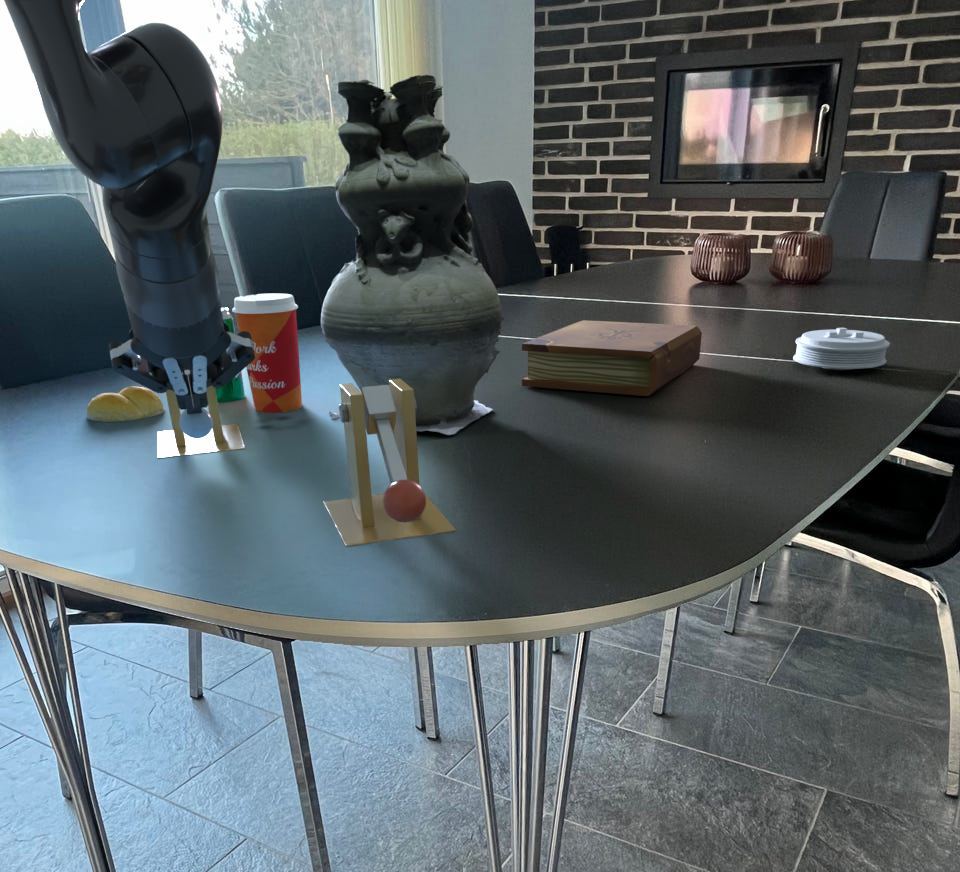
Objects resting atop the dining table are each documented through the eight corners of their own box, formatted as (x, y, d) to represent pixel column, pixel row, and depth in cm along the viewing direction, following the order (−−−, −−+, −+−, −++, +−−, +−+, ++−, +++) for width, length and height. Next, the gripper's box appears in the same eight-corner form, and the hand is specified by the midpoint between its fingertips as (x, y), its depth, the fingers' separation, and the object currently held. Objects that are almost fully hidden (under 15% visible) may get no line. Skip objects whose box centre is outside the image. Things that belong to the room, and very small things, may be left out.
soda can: (233, 400, 116) (218, 305, 111) (253, 406, 113) (239, 309, 108) (199, 407, 113) (182, 310, 108) (219, 413, 110) (202, 313, 104)
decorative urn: (298, 431, 101) (253, 77, 85) (381, 391, 119) (358, 90, 102) (464, 446, 94) (451, 63, 78) (526, 401, 112) (527, 80, 95)
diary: (654, 398, 111) (657, 352, 109) (521, 387, 119) (521, 343, 116) (698, 365, 129) (702, 324, 127) (581, 357, 137) (582, 318, 134)
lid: (845, 355, 133) (850, 321, 130) (904, 370, 122) (912, 334, 120) (774, 362, 130) (779, 327, 127) (829, 379, 119) (836, 341, 117)
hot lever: (428, 527, 66) (432, 502, 63) (387, 533, 65) (390, 508, 62) (392, 408, 71) (395, 380, 68) (353, 412, 70) (355, 383, 67)
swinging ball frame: (457, 543, 70) (451, 396, 64) (346, 560, 67) (330, 408, 62) (422, 501, 79) (414, 368, 73) (324, 514, 77) (308, 378, 71)
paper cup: (236, 417, 108) (217, 298, 101) (286, 405, 113) (271, 291, 106) (273, 427, 103) (255, 303, 97) (324, 414, 108) (310, 295, 102)
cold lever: (216, 443, 88) (213, 422, 85) (183, 447, 87) (179, 425, 85) (200, 357, 93) (196, 334, 90) (169, 359, 92) (164, 336, 90)
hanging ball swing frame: (247, 459, 92) (229, 344, 86) (159, 469, 90) (134, 351, 84) (239, 433, 101) (222, 328, 96) (159, 442, 99) (137, 334, 93)
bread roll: (79, 423, 107) (71, 390, 106) (148, 410, 113) (142, 378, 111) (106, 435, 102) (98, 401, 100) (177, 420, 107) (171, 388, 105)
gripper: (88, 331, 67) (128, 446, 83) (262, 319, 71) (267, 431, 87) (77, 252, 69) (118, 379, 85) (246, 244, 72) (255, 367, 89)
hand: (193, 405), depth 86 cm, fingers closed
